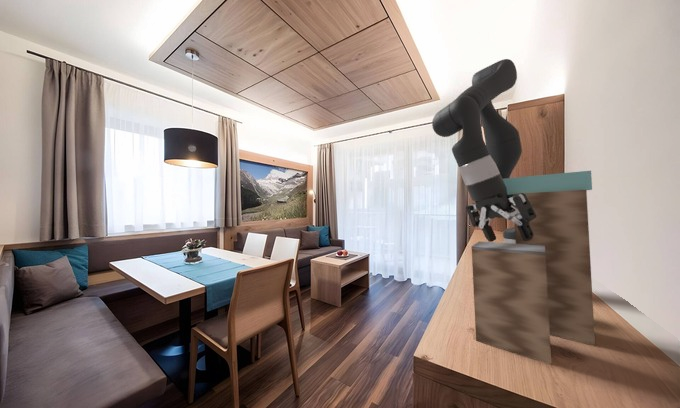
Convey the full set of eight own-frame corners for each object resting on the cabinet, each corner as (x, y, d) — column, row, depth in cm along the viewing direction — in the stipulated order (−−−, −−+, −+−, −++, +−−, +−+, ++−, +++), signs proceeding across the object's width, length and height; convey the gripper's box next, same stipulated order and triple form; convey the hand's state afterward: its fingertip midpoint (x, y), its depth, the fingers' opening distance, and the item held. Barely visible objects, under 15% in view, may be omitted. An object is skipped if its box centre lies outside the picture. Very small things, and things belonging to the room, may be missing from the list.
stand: (519, 326, 54) (513, 193, 54) (521, 315, 59) (515, 194, 59) (595, 345, 46) (586, 189, 46) (589, 330, 51) (581, 190, 51)
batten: (472, 196, 61) (471, 181, 61) (475, 196, 64) (474, 182, 64) (592, 189, 47) (591, 170, 47) (589, 190, 50) (588, 172, 50)
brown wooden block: (476, 340, 49) (471, 246, 49) (482, 325, 55) (478, 241, 55) (551, 364, 41) (545, 252, 41) (549, 343, 47) (544, 245, 47)
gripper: (521, 164, 49) (553, 232, 48) (468, 181, 63) (491, 235, 62) (499, 174, 47) (532, 246, 46) (448, 190, 60) (473, 246, 59)
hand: (509, 240), depth 54 cm, fingers open, 8 cm apart
